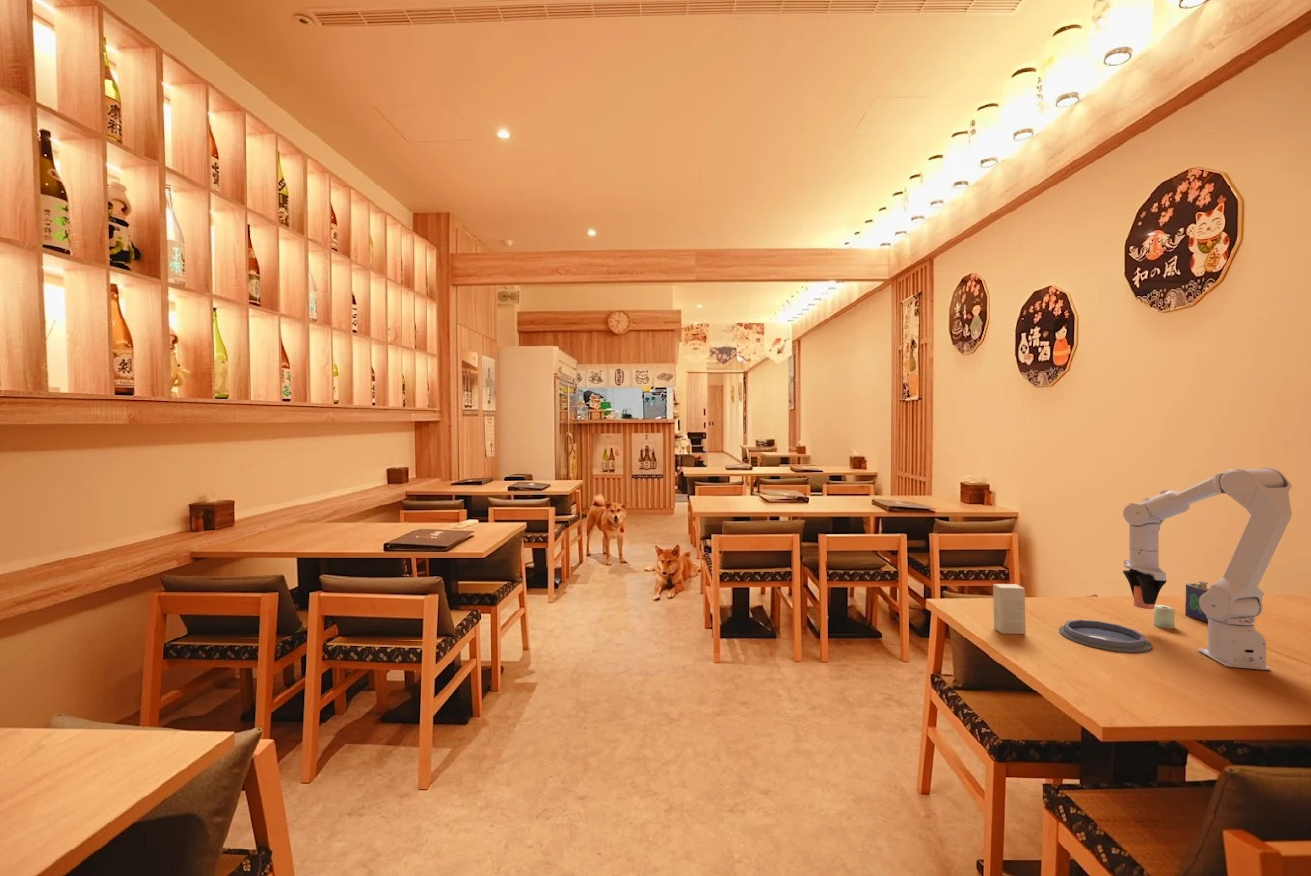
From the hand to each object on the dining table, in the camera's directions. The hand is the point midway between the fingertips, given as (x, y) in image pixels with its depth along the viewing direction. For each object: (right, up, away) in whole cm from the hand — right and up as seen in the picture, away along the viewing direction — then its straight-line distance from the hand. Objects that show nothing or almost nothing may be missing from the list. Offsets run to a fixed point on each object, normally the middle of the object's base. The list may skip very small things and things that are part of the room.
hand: (1144, 601), depth 143 cm
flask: (+23, -8, +7) cm, 25 cm away
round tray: (-15, -8, -5) cm, 18 cm away
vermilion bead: (0, -2, 0) cm, 2 cm away
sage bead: (+8, -8, +3) cm, 12 cm away
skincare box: (-35, -8, 0) cm, 36 cm away
